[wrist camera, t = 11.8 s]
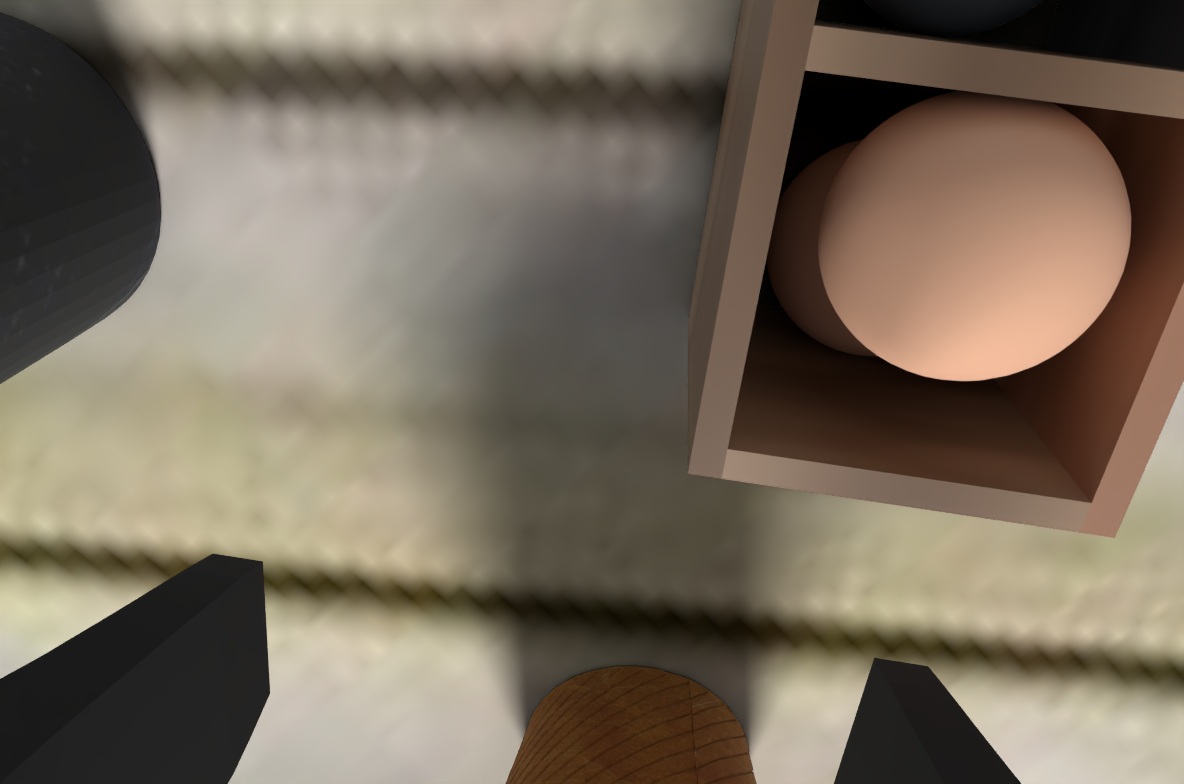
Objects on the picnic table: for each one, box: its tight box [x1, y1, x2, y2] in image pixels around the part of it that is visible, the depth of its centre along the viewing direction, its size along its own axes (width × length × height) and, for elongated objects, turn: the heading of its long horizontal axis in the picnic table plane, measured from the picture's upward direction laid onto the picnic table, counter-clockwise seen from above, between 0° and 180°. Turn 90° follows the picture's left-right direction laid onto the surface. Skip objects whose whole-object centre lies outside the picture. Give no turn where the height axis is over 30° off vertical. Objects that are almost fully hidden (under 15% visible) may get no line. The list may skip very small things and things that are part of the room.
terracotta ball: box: [818, 90, 1131, 381], centre depth 12 cm, size 4×4×4 cm
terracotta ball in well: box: [766, 139, 877, 356], centre depth 16 cm, size 4×4×4 cm
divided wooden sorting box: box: [688, 0, 1184, 538], centre depth 13 cm, size 6×12×7 cm, turn 174°
